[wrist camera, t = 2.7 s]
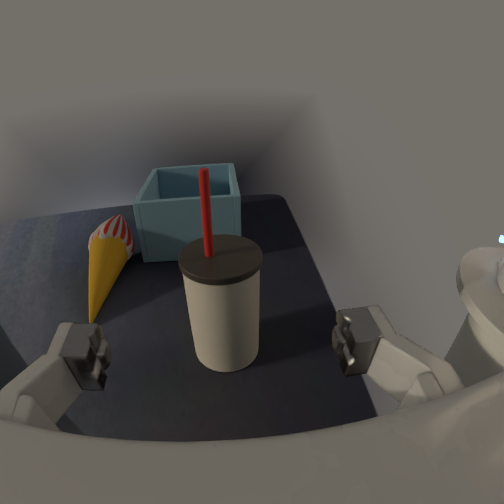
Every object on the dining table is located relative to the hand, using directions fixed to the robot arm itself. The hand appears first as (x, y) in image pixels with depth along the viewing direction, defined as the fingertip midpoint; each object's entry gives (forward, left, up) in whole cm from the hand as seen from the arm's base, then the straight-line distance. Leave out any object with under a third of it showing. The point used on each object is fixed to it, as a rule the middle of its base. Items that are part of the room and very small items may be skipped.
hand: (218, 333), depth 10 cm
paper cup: (0, -13, -16) cm, 21 cm away
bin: (+4, -37, -16) cm, 41 cm away
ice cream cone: (+15, -26, -16) cm, 34 cm away
